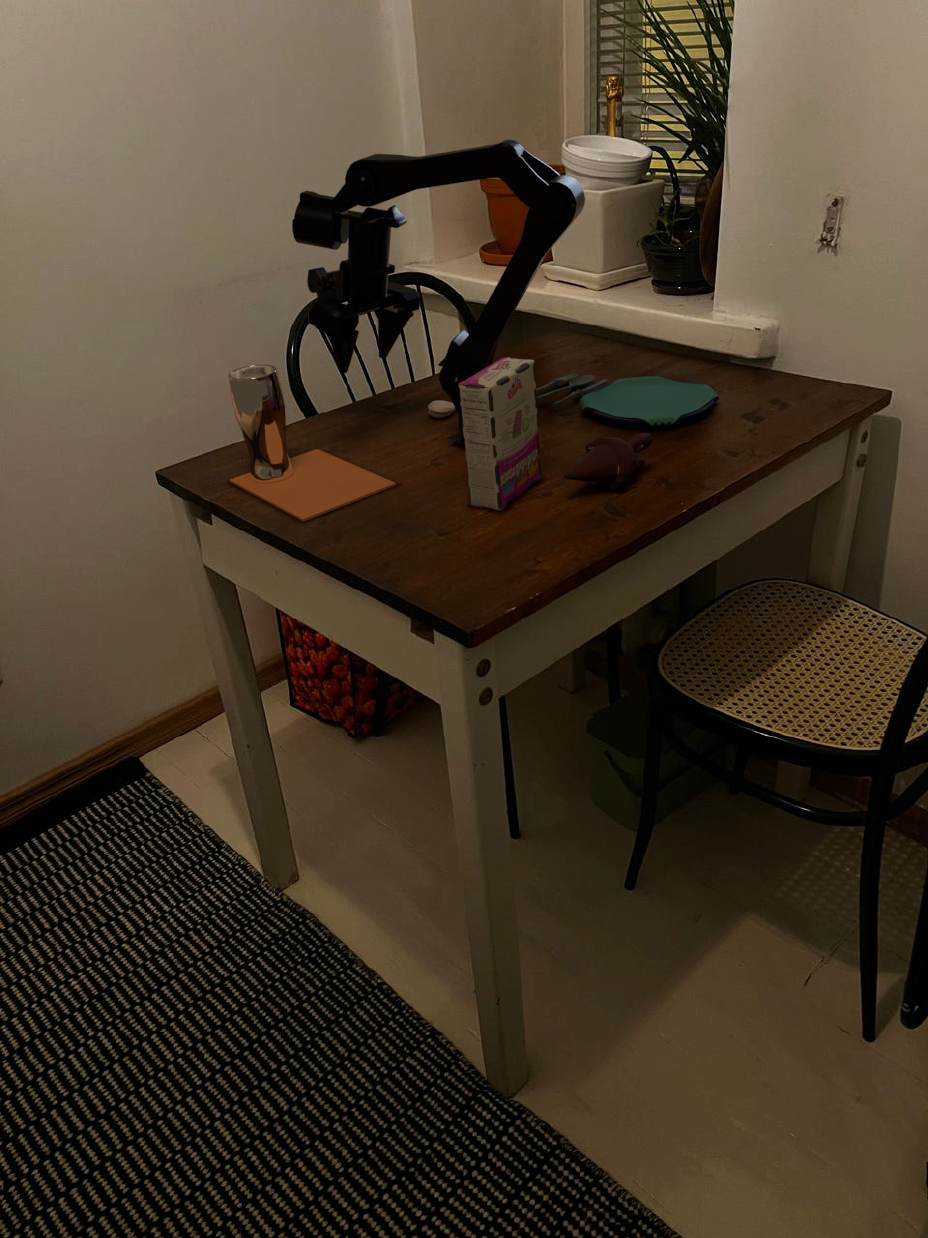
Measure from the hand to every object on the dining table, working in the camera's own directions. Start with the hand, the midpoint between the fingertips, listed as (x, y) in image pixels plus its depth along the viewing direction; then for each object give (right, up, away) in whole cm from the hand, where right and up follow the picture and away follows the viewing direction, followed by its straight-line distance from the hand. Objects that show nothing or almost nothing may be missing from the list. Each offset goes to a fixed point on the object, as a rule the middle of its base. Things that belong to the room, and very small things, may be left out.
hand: (363, 365), depth 141 cm
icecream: (+34, -20, -16) cm, 42 cm away
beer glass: (-13, -17, -4) cm, 21 cm away
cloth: (-7, -18, -7) cm, 21 cm away
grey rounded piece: (+12, -5, +13) cm, 18 cm away
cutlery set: (+40, -3, +11) cm, 42 cm away
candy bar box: (+20, -21, -15) cm, 33 cm away
